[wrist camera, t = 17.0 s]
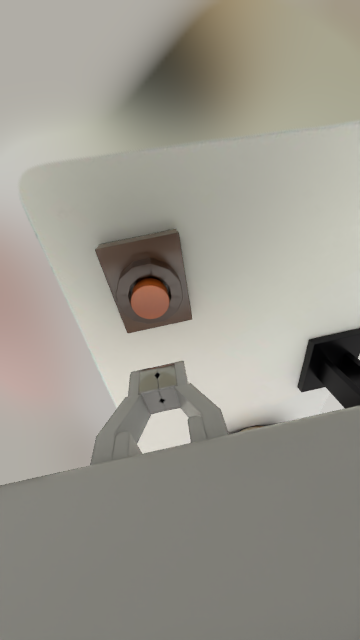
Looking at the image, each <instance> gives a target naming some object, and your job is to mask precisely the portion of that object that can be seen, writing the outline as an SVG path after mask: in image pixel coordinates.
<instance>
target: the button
mask: <svg viewBox="0 0 360 640" xmlns="http://www.w3.org/2000/svg"><path fill="white" fill-rule="evenodd" d="M131 306H132V309H133V310H134V312H135V313H136V314H137V315H139V316H140V317H142V318H146V319H155V318H158V317H160V316H162V315H163V314H164V313H165V312H166V311H167V310H168V307H169V296H168V291H167V288H166V287H165V285H164V284H163V283H162V282H160V281H159V280H157V279H153V278H147V279H143V280H141V281H139V282H138V283H137V284H136V285H135V286H134V288H133V290H132V296H131Z"/></svg>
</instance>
